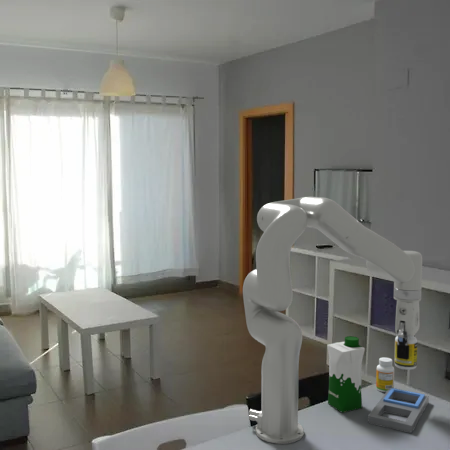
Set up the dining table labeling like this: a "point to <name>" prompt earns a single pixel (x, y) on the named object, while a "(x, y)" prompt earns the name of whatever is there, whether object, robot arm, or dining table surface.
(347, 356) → the milk carton
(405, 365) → the pill bottle
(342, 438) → the dining table surface
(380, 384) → the supplement bottle
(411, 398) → the organizer board
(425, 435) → the dining table surface
